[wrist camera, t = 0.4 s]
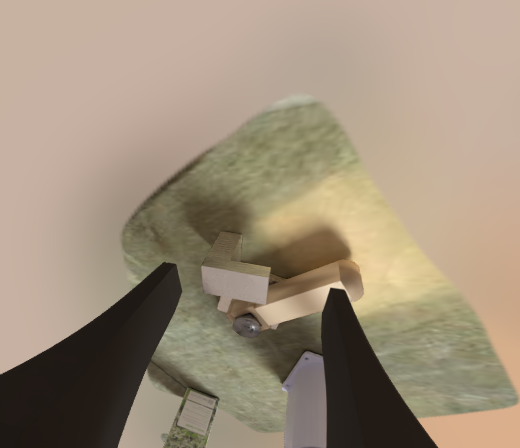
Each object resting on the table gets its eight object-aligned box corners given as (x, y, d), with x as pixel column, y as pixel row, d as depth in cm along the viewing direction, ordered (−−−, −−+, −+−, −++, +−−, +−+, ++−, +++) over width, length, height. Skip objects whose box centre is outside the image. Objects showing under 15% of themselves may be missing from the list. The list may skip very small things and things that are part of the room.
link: (250, 315, 28) (244, 335, 26) (232, 295, 27) (225, 315, 25) (365, 279, 23) (370, 300, 21) (350, 252, 22) (353, 272, 20)
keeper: (274, 264, 25) (265, 304, 21) (221, 255, 26) (203, 292, 22) (277, 240, 24) (268, 277, 20) (221, 230, 24) (201, 265, 20)
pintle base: (276, 323, 30) (270, 360, 26) (219, 303, 30) (205, 337, 26) (297, 283, 26) (294, 318, 22) (231, 260, 26) (217, 291, 22)
